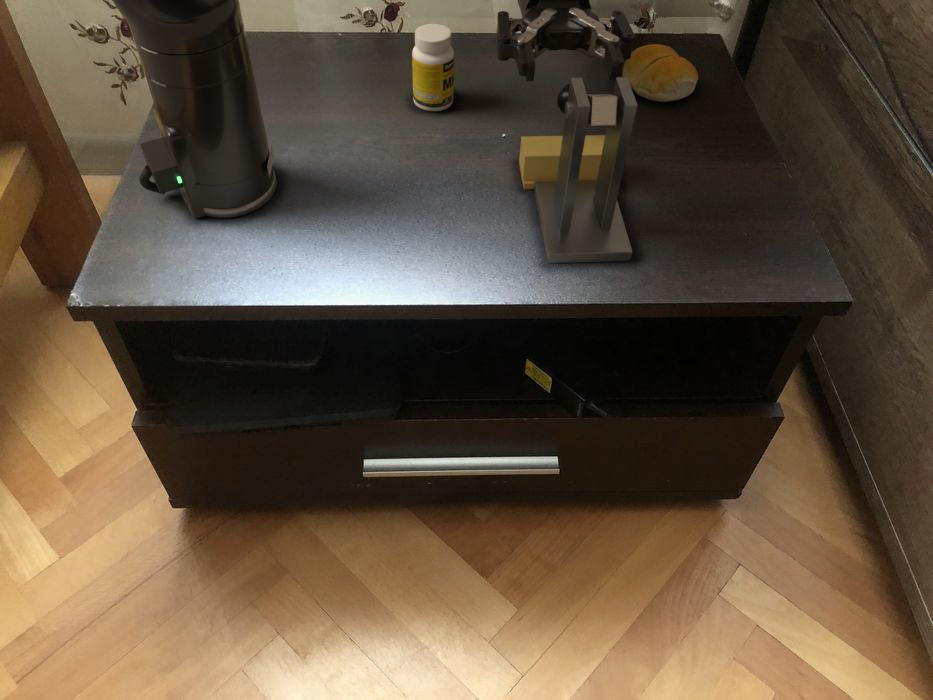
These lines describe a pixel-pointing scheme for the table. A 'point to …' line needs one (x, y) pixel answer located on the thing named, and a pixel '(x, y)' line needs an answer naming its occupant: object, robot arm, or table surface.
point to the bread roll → (660, 73)
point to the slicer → (587, 186)
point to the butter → (556, 158)
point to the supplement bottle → (433, 67)
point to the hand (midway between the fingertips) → (573, 72)
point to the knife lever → (594, 107)
